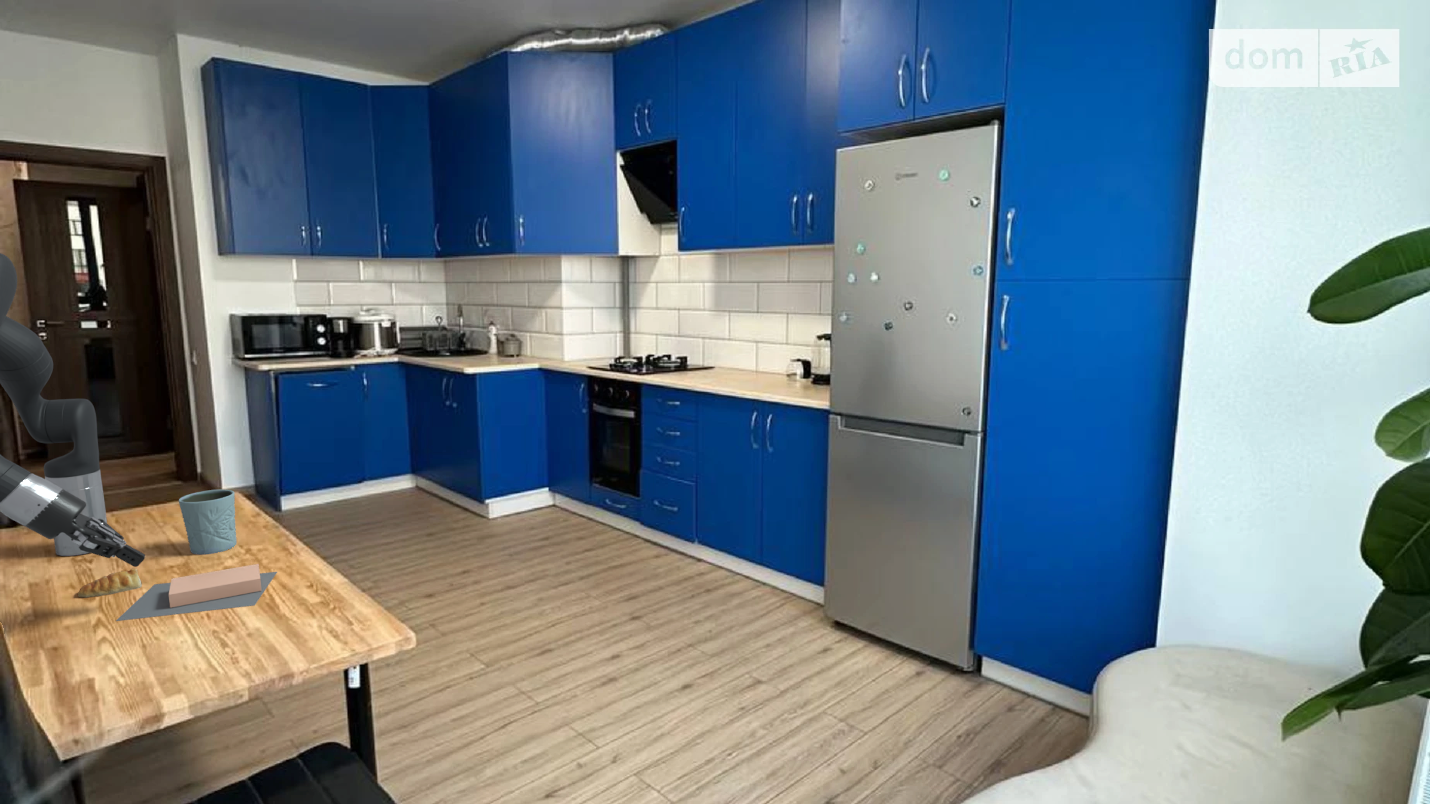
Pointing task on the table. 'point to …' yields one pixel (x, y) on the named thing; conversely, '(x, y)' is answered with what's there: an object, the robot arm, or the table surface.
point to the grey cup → (209, 520)
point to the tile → (214, 585)
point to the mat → (159, 605)
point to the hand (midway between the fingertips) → (141, 561)
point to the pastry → (112, 584)
